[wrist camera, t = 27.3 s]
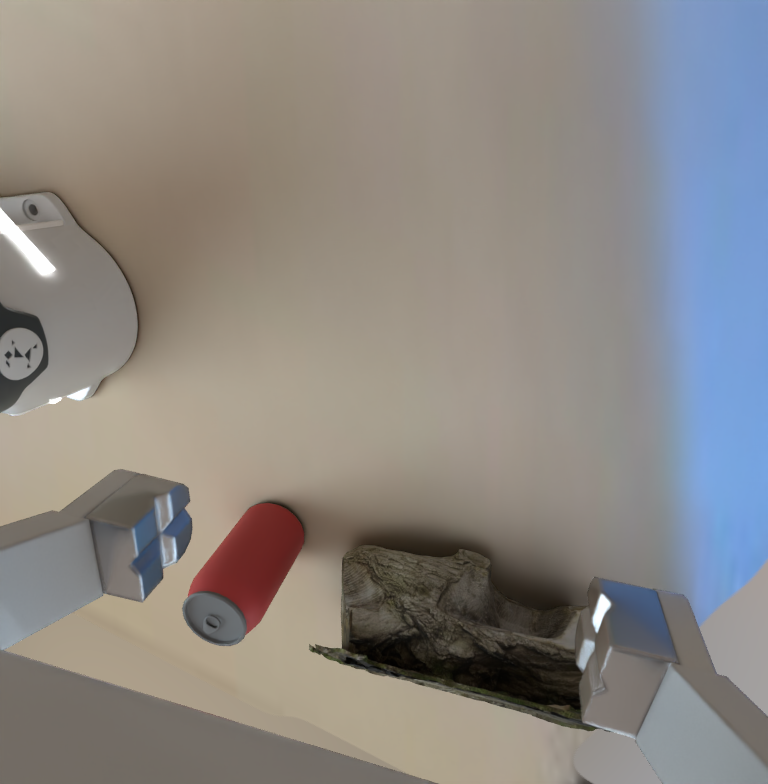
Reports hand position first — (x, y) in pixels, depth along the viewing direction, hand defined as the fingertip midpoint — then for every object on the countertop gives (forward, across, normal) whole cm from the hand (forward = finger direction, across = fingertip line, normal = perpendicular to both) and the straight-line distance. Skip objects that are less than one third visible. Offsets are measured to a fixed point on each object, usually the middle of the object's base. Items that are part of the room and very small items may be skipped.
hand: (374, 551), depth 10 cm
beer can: (+31, +16, +28) cm, 45 cm away
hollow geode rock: (+31, -5, +31) cm, 44 cm away
